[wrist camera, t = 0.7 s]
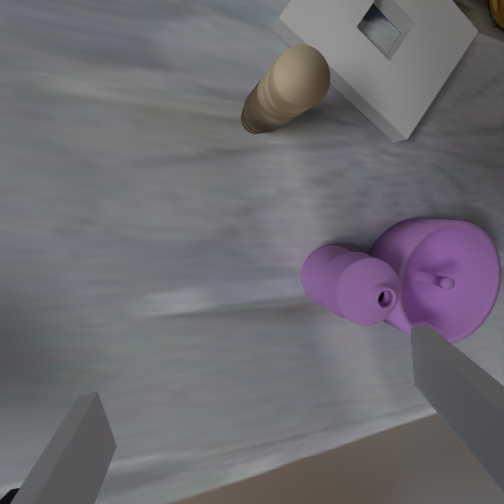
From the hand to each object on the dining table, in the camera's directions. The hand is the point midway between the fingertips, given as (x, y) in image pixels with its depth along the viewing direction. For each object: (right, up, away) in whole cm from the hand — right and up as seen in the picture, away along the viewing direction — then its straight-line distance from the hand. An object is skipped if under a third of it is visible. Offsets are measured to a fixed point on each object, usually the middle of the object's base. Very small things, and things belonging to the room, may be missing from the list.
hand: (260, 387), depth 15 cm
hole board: (+14, +31, +27) cm, 44 cm away
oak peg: (0, +21, +25) cm, 33 cm away
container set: (+17, +3, +32) cm, 37 cm away
